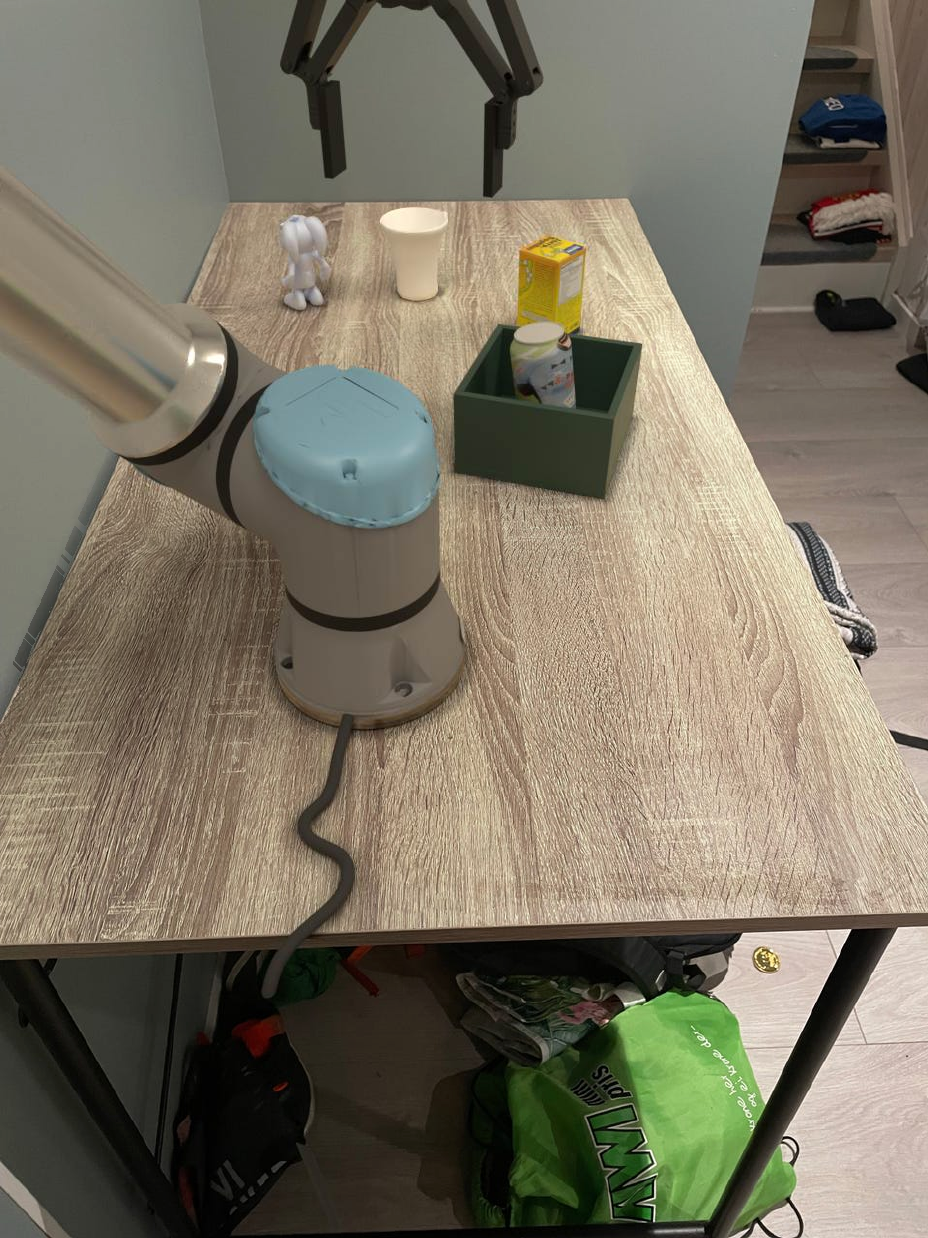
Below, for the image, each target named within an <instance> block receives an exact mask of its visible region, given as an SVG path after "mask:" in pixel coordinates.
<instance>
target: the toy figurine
mask: <svg viewBox="0 0 928 1238" xmlns="http://www.w3.org/2000/svg"><path fill="white" fill-rule="evenodd" d="M278 228H279V229H278V234H279V239H280V240H279V241H280V242H279V244H280V248H281V249H282V250H284V251H285V252H287V257H286V264H287V265H288V273H287V274H286V276H284V277H283V278H282V279H281V285H282V287H283V288H284V289H292V290H293V291H291V292H288V293H287V294H286V295H285V296H284V297H283V303H284V305H286V306H288V307H289V308H292V309H293V310H296V311H304V310H306V309H307V301H308V302H309V303H310V304H311V305H312V306H317V307H318V306H323V304H324V297H323V294H322V292H321V291H320V289H319V288H318V287H317V285H316V275H315V271H314V267H313V260H314V261H317V262H318V263H319V265H320V266H321V270H320V272H319V273H318V277H319V278H320V279H321V280H322V281H325V280H328V279H329V278H330V277H331V276H332V269H331V266H330V265H329V264H328V262H327V261H326V259H325V258H324V256H325V254H326V250H327V247H328V246H327V245H328V234H327V230H326V228H325V226H324V224H323V222H322V221H321V219H319V218H318V217H317V216H314V215H310V216H308V217H307V216H305V215H302V214H292V215H291V216H289V217H288V218H287V219H286V220H284V221H283V222H281V223H280V224H279V225H278ZM314 245H315V248H313V247H314ZM302 289H304V291H303V290H302Z"/></svg>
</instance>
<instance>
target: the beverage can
mask: <svg viewBox="0 0 928 1238" xmlns="http://www.w3.org/2000/svg"><path fill="white" fill-rule="evenodd" d="M510 355H511V363H512V371H513V379H514V387H515V395H516V400H521V401H527V402H534V403H540V404H547V405H553V406H559V407H566V408H572V409H576V398H575V385H574V372H573V359H572V346H571V340H570V338H569V336H568V335H567V334H566V333H565V332H564V327H563V326H562V325H561V324H559V323H556V322H548V321H543V322H535V323H530V324H527V325H525V326H522V327H520V328H519V329H517V330H516V332H515V333H514V340H513V341H512V343H511V346H510Z"/></svg>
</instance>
